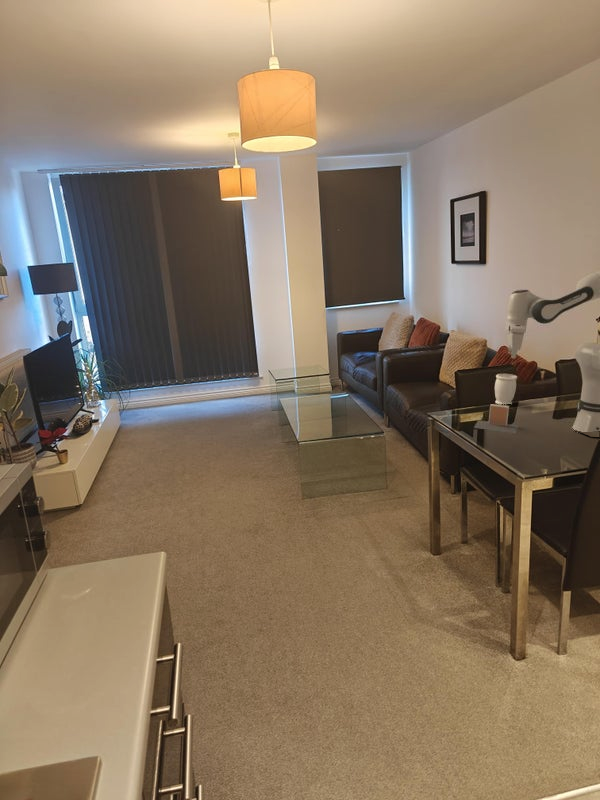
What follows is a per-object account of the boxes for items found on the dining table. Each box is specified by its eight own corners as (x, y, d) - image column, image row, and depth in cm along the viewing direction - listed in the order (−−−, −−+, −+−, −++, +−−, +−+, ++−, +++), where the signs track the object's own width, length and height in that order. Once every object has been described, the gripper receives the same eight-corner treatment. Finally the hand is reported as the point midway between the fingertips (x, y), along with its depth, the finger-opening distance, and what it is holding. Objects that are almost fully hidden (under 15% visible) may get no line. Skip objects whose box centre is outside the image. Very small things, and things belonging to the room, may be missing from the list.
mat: (518, 426, 245) (518, 425, 244) (515, 434, 234) (515, 433, 234) (478, 420, 252) (478, 420, 252) (473, 428, 242) (473, 427, 242)
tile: (506, 424, 246) (509, 406, 243) (506, 426, 244) (508, 407, 242) (488, 422, 249) (490, 404, 247) (488, 423, 248) (490, 405, 245)
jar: (516, 406, 274) (519, 378, 270) (495, 405, 276) (498, 377, 272) (511, 400, 284) (514, 373, 280) (491, 400, 286) (494, 373, 282)
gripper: (505, 322, 252) (502, 351, 256) (511, 329, 233) (507, 360, 237) (520, 323, 250) (516, 352, 254) (526, 329, 231) (522, 361, 235)
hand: (511, 356), depth 245 cm, fingers open, 8 cm apart
